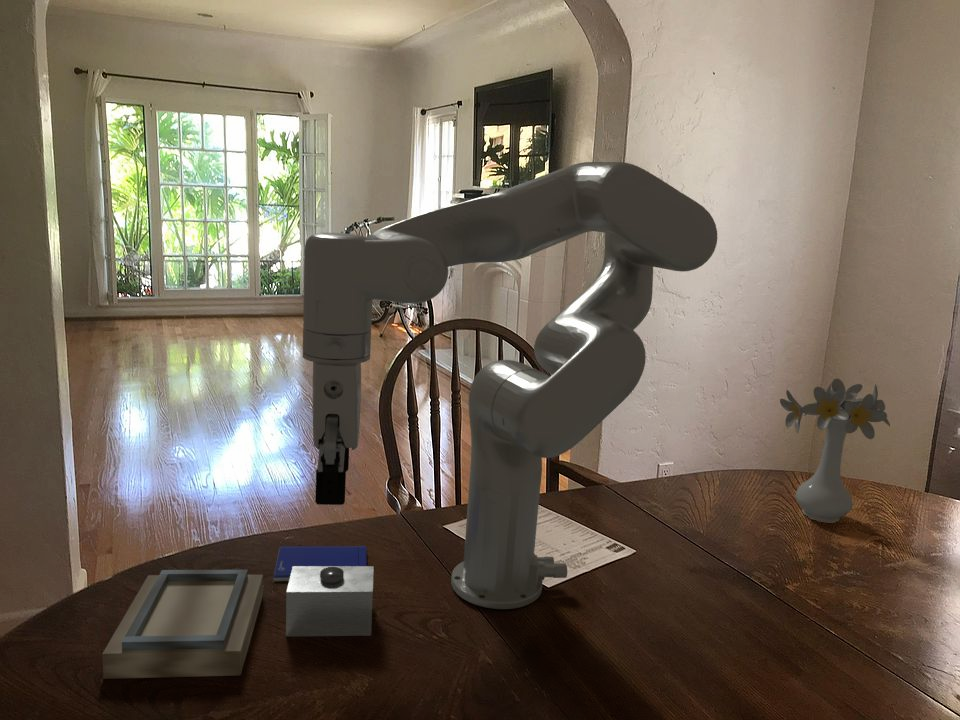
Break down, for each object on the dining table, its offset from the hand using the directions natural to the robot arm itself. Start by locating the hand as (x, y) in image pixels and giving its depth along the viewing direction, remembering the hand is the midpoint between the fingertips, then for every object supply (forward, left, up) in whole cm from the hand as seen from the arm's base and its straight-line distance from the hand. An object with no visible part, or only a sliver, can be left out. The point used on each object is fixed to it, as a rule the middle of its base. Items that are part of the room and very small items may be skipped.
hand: (332, 486), depth 87 cm
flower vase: (-84, -30, -18) cm, 91 cm away
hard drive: (+2, -14, -19) cm, 23 cm away
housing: (0, 0, -18) cm, 18 cm away
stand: (+16, +2, -18) cm, 24 cm away
